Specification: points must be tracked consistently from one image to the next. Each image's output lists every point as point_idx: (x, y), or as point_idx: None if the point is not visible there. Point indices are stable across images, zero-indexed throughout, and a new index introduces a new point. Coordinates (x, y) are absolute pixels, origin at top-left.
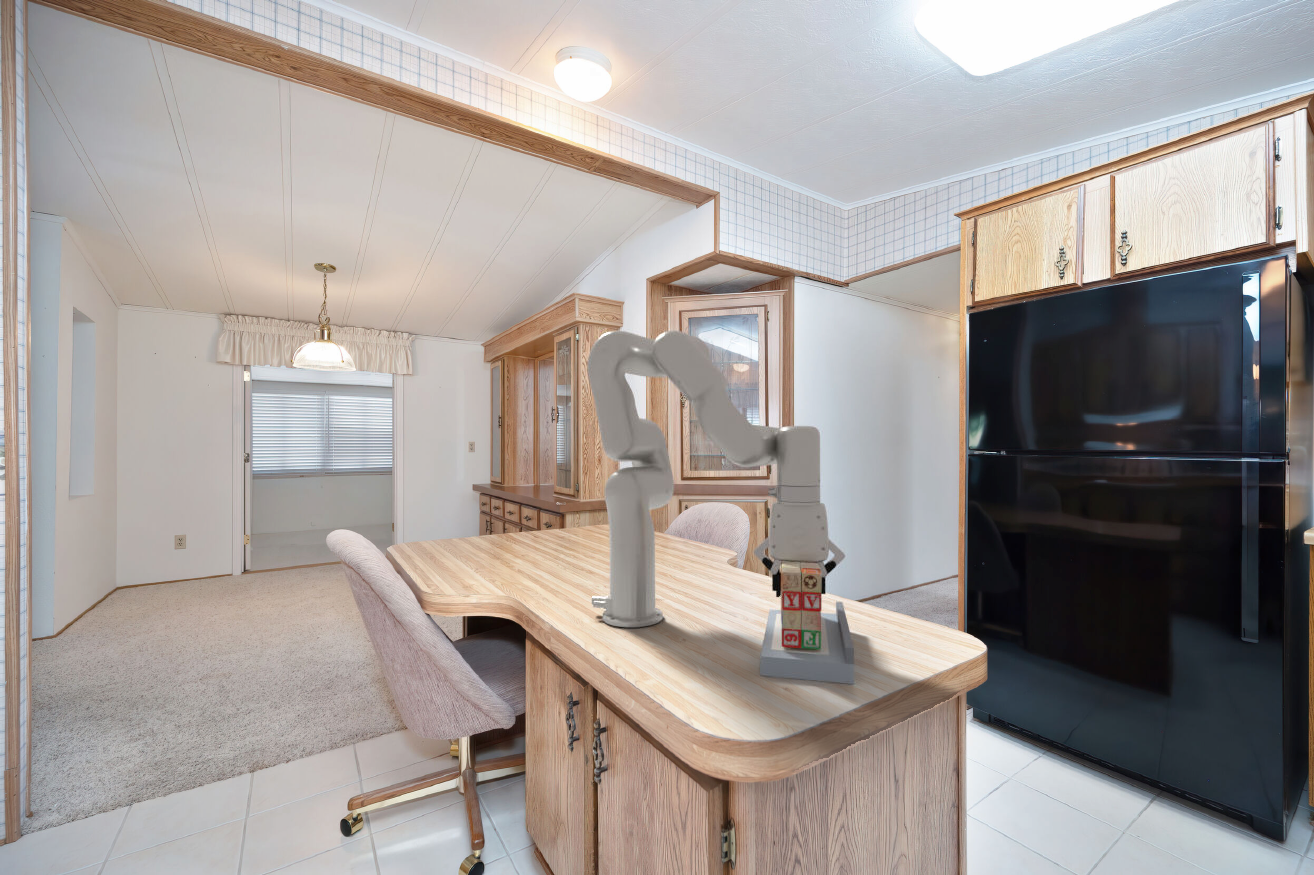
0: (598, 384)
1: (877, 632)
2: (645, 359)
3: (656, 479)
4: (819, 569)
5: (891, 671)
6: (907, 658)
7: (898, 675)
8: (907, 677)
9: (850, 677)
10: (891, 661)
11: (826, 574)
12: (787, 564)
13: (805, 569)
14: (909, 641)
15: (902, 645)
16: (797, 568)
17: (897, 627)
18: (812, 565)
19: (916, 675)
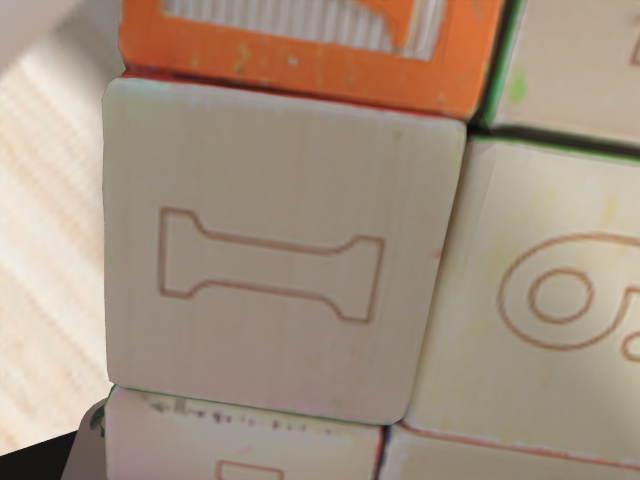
0: None
1: (84, 401)
2: None
3: None
4: (125, 79)
5: (101, 107)
6: (37, 209)
7: (87, 76)
8: (64, 61)
9: None
10: (86, 185)
11: (100, 408)
12: (616, 413)
13: (396, 64)
14: (9, 336)
15: (33, 307)
16: (548, 108)
17: (23, 437)
18: (213, 295)
19: (36, 78)
